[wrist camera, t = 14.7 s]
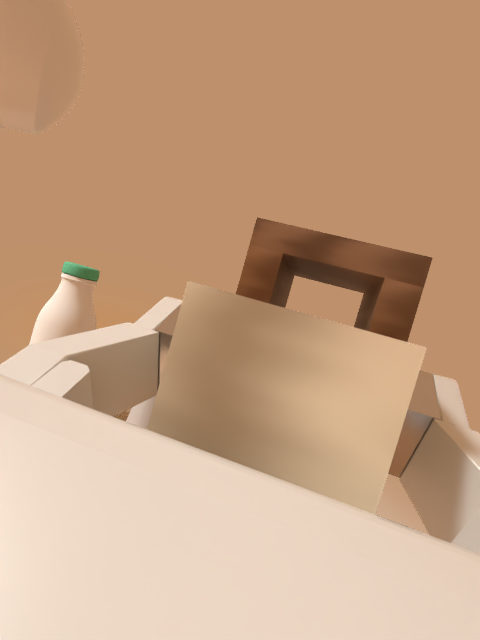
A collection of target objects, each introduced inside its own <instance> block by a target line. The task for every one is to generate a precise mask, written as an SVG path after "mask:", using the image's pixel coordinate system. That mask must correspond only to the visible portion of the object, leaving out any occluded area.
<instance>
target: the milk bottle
mask: <svg viewBox="0 0 480 640" xmlns="http://www.w3.org/2000/svg"><path fill="white" fill-rule="evenodd" d="M62 272H63V273H62V275H61V277H62V280H61V283H60V285H59V288H58V289H57V291H56V292H55V294H54V295H53V296H52V297H51V299H50V300H49V301H48V302H47V303H46V305H45V306H44V307H43V308H42V310H41V312H40V313H39V315H38V318H37V320H36V323H35V326H34V330H33V333H32V337H31V340H30V344H34V343H38V342H43V341H47V340H52V339H56V338H61V337H65V336H69V335H74V334H78V333H83V332H87V331H92V330H96V315H95V310H94V304H93V289H94V286H96V283H97V282H96V281H97V280H98V278H99V271H98V270H96V269H93V268H90V267H86V266H83V265H79V264H75V263H71V262H65V263H64V265H63V269H62ZM30 344H29V345H30Z"/></svg>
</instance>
